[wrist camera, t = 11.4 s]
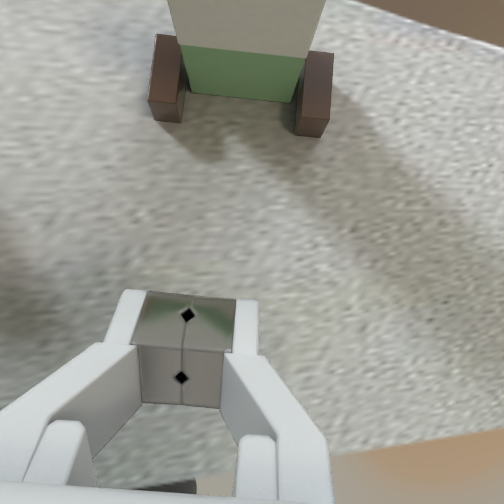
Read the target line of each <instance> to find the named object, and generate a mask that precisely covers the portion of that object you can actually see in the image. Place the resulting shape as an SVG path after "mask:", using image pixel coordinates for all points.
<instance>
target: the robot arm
mask: <svg viewBox="0 0 504 504" xmlns="http://www.w3.org/2000/svg"><path fill="white" fill-rule="evenodd" d="M259 304H260V303H259V301H258V300H251V299H233V298H220V297H207V296H194V295H184V294H175V293H166V292H156V291H143V290H134V289H125V290H124V292H123V293H122V295H121V297H120V300H119V302H118V305H117V308H116V310H115V313H114V315H113V318H112V320H111V323H110V325H109V328H108V331H107V333H106V336H105V338H104V341H103V343H100V342H96V343H94V344H93V345H91V346H90V347H89V348H87V349H86V350H84V351H83V352H82V353H80V354H79V355H77V356H76V357H75V358H73V359H72V360H70V361H69V362H68V363H66V364H65V365H64V366H62V367H61V368H59V369H58V370H57V371H55V372H54V373H52V374H51V375H50V376H48V377H47V378H45V379H44V380H43V381H41V382H40V383H38V384H37V385H36V386H34V387H33V388H32V389H30V390H29V391H27V392H26V393H25V394H23V395H22V396H20V397H19V398H18V399H16V400H15V401H13V402H12V403H11V404H9V405H8V406H6V407H5V408H4V409H2V410H1V411H0V504H335V498H334V489H333V481H332V472H331V463H330V455H329V446H328V439H327V437H326V436H325V435H324V433H323V432H322V431H321V429H320V428H319V427H318V425H317V424H316V423H315V422H314V420H313V419H312V418H311V416H310V415H309V414H308V412H307V411H306V410H305V408H304V407H303V406H302V404H301V403H300V402H299V400H298V399H297V398H296V396H295V395H294V394H293V392H292V391H291V390H290V388H289V387H288V386H287V384H286V383H285V382H284V380H283V379H282V378H281V376H280V375H279V374H278V372H277V371H276V370H275V368H274V367H273V366H272V364H271V363H270V362H269V360H268V359H267V358H266V357H265V356H259ZM142 403H153V404H172V405H186V406H196V407H205V408H215V409H220V413H221V415H222V417H223V419H224V421H225V423H226V425H227V427H228V429H229V431H230V433H231V435H232V437H233V439H234V441H235V443H236V445H237V447H238V455H237V462H236V469H235V477H234V483H233V491H232V497H223V496H210V495H196V494H182V493H168V492H154V491H140V490H126V489H112V488H98V485H97V480H96V476H95V471H94V466H93V461H92V459H93V458H94V457H95V456H96V455H97V454H98V453H99V452H100V451H101V449H102V448H103V447H104V446H105V445H106V444H107V443H108V442H109V441H110V440H111V439H112V438H113V436H114V435H115V434H116V433H117V432H118V431H119V430H120V429H121V428H122V427H123V426H124V424H125V423H126V422H127V421H128V420H129V419H130V418H131V417H132V416H133V415H134V414H135V412H136V411H137V410H138V409H139V408H140V407H141V406H142Z"/></svg>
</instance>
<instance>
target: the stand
mask: <svg viewBox="0 0 504 504" xmlns="http://www.w3.org/2000/svg"><path fill="white" fill-rule="evenodd" d="M333 62H334V53H327V52H318V51H309V52H308V55H307V58H305V60H304V63H303V66H302V69H301V72H300V75H299V86H298V98H297V111H296V123H295V135H301V136H310V137H321V136H322V134H323V132H324V130H325V128H326V126H327V124H328V122H329V120H330V106H331V91H332V76H333ZM186 78H187V71H186V67H185V63H184V59H183V55H182V51H181V47H180V44H178V40H177V36H171V35H162V34H156V37H155V45H154V52H153V60H152V67H151V75H150V82H149V90H148V97H147V101H148V104H149V106H150V109H151V112H152V114H153V117H154V120H158V121H167V122H177V123H181V120H182V112H183V103H184V95H185V87H186Z"/></svg>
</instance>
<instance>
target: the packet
mask: <svg viewBox="0 0 504 504" xmlns="http://www.w3.org/2000/svg"><path fill="white" fill-rule="evenodd" d="M167 1H168V5H169V9H170V13H171V17H172V21H173V25H174V28H175V32H176V36H177V40H178V44H180V47H181V51H182V55H183V59H184V63H185V67H186V71H187V75H188V79H189V83H190V87H191V91H192V93H200V94H210V95H219V96H229V97H238V98H247V99H257V100H266V101H276V102H285V103H290V102H291V99H292V96H293V93H294V90H295V87H296V84H297V81H298V78H299V75H300V72H301V69H302V66H303V63H304V60H305V58H307V55H308V52H309V49H310V46H311V43H312V40H313V37H314V34H315V31H316V28H317V25H318V22H319V19H320V16H321V13H322V10H323V7H324V4H325V1H326V0H167Z"/></svg>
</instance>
